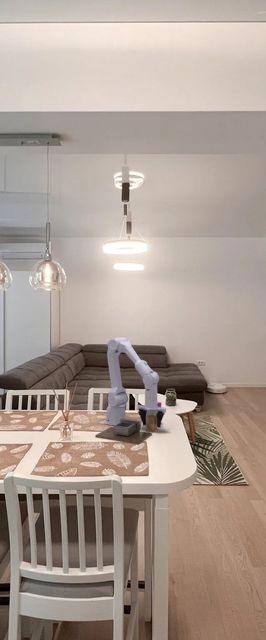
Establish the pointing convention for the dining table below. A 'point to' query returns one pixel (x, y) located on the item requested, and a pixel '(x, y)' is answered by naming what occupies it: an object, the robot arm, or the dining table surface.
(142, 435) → the bracket
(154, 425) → the brown rectangular block
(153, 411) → the supplement box
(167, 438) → the dining table surface
